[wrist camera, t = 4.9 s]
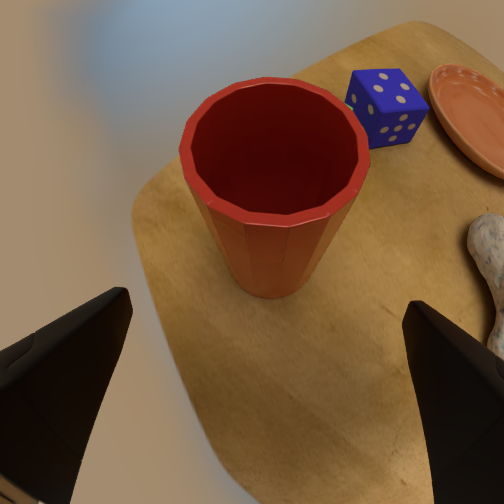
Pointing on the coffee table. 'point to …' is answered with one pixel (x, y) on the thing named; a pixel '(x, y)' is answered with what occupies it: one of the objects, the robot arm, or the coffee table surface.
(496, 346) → the decorative stone
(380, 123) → the die
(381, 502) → the coffee table surface
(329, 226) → the cup
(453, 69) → the saucer
